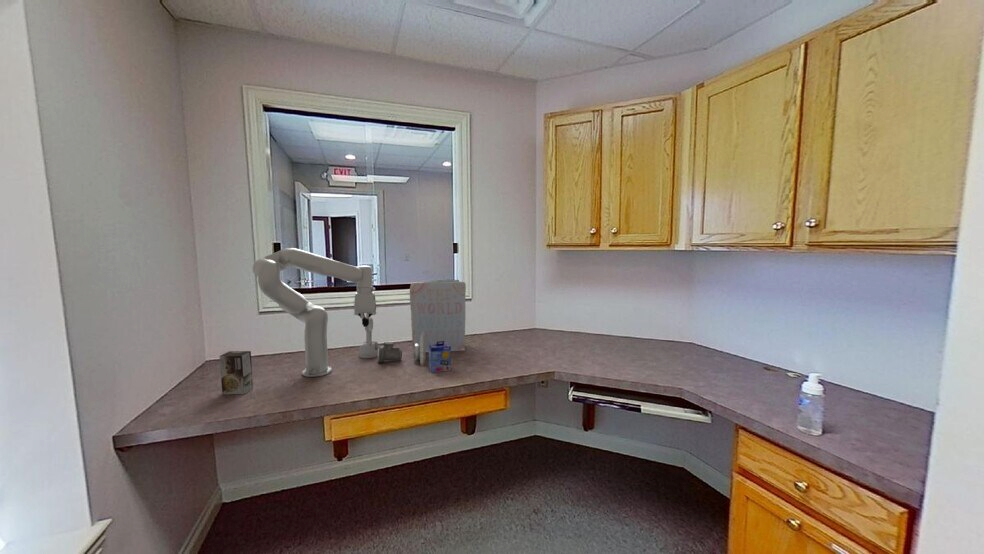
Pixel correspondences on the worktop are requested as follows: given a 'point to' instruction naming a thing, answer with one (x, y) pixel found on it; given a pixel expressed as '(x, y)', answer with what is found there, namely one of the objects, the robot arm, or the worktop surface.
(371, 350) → the electric toothbrush
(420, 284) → the grey shopping bag
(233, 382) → the coffee box
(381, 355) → the pipe fitting
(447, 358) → the ink cartridge box
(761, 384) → the worktop surface
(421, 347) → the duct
